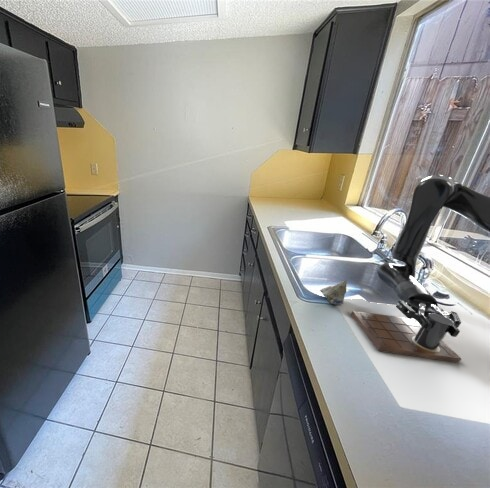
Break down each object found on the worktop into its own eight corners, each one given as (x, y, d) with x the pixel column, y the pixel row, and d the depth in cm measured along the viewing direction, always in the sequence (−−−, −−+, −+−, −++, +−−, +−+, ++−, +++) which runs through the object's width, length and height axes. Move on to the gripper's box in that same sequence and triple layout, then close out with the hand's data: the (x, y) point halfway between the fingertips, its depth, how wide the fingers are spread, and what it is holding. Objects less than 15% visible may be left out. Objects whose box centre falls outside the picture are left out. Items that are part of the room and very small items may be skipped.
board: (416, 323, 84) (419, 319, 84) (458, 362, 70) (461, 358, 69) (350, 314, 87) (352, 310, 86) (378, 350, 73) (380, 346, 72)
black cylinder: (428, 338, 75) (443, 314, 72) (441, 351, 71) (458, 326, 67) (410, 336, 76) (424, 311, 72) (421, 348, 72) (437, 323, 68)
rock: (319, 286, 100) (346, 276, 93) (328, 299, 99) (356, 290, 93) (314, 300, 91) (344, 290, 85) (325, 314, 91) (355, 305, 84)
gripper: (392, 281, 84) (414, 312, 69) (449, 292, 79) (486, 328, 64) (383, 300, 87) (403, 333, 72) (437, 312, 82) (470, 350, 68)
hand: (442, 330), depth 69 cm, fingers open, 5 cm apart
